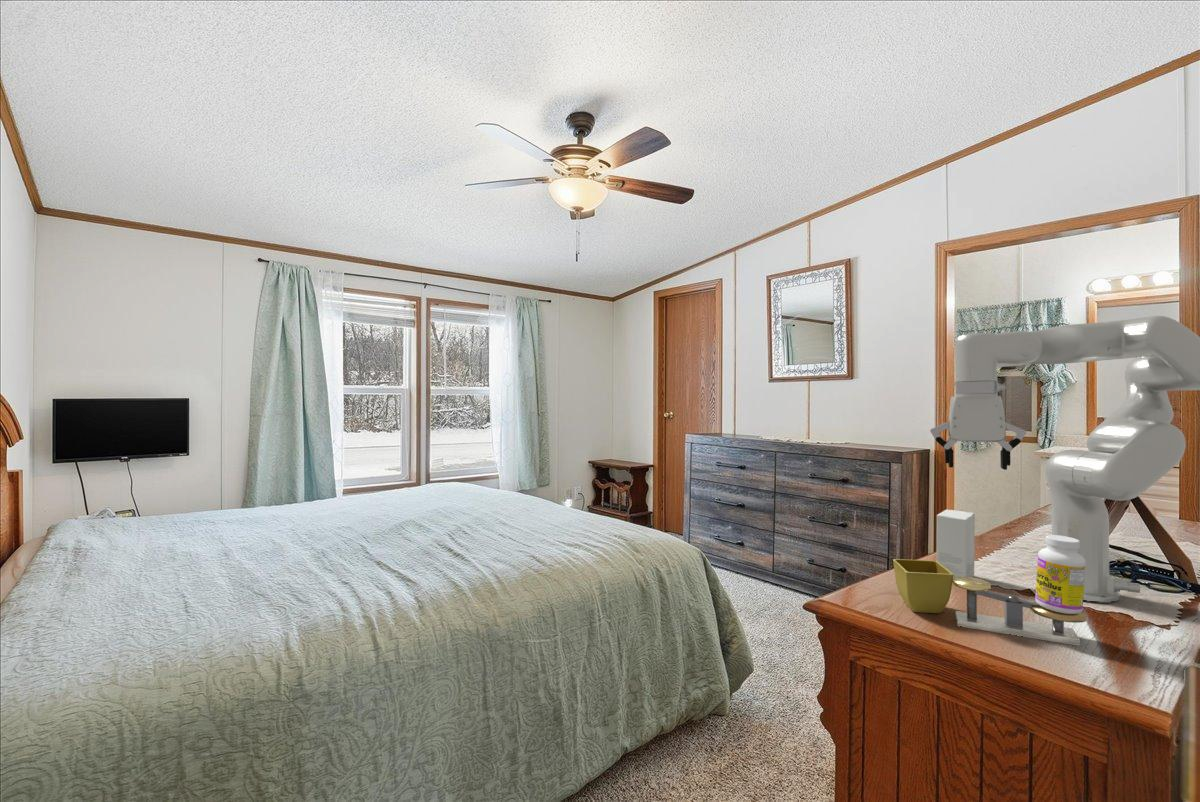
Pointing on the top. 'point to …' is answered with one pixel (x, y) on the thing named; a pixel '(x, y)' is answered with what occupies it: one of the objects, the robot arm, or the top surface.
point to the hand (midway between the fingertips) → (976, 467)
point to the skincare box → (956, 542)
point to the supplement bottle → (1060, 575)
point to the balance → (1014, 615)
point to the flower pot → (923, 584)
